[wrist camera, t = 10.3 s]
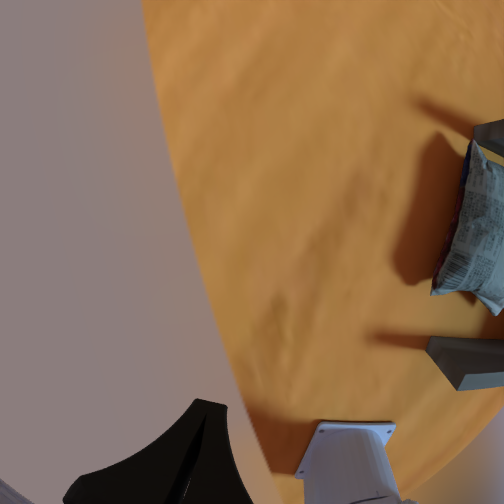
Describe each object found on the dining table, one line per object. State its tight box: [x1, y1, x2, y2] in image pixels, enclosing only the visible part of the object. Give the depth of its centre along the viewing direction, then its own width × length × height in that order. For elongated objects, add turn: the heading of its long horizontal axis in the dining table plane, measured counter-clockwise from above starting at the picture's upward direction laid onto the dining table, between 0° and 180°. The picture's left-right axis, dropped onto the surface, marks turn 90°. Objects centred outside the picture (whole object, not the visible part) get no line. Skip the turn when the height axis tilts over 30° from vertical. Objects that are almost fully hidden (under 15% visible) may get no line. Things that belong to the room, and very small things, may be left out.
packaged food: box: [430, 139, 504, 316], centre depth 16 cm, size 9×12×5 cm
